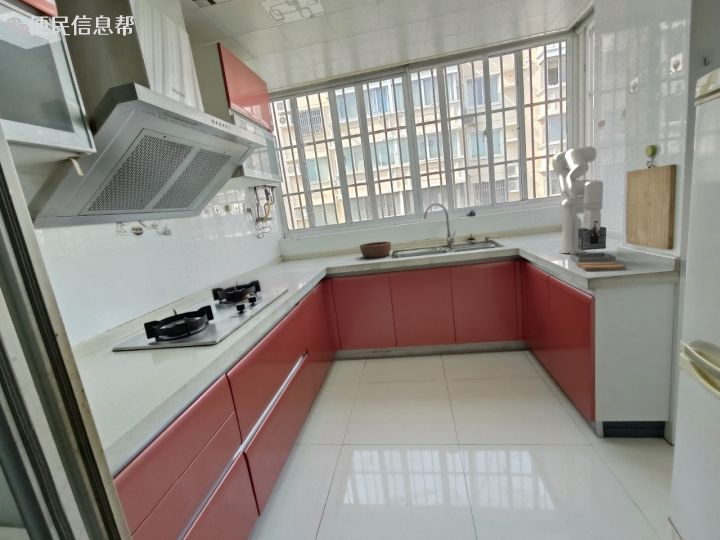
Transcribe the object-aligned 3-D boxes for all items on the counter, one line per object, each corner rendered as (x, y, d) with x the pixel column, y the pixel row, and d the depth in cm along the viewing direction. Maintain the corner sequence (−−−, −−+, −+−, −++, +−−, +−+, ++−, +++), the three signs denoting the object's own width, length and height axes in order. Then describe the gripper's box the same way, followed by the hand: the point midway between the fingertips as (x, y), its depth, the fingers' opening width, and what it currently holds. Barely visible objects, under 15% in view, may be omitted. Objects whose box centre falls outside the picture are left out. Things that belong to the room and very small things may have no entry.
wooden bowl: (367, 254, 281) (365, 242, 279) (395, 252, 272) (394, 240, 270) (356, 259, 258) (355, 247, 256) (386, 258, 249) (385, 244, 247)
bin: (570, 259, 175) (570, 254, 174) (604, 258, 170) (604, 252, 170) (578, 264, 163) (578, 258, 163) (615, 262, 158) (615, 256, 158)
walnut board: (576, 265, 161) (576, 262, 161) (612, 263, 157) (612, 260, 156) (586, 271, 149) (586, 268, 149) (625, 269, 144) (625, 266, 144)
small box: (600, 246, 168) (601, 226, 166) (606, 248, 162) (607, 227, 160) (577, 247, 171) (577, 227, 169) (581, 250, 165) (582, 229, 163)
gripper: (578, 206, 171) (577, 240, 175) (590, 208, 155) (589, 246, 159) (594, 204, 169) (593, 239, 173) (609, 207, 153) (607, 244, 157)
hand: (591, 242), depth 166 cm, fingers closed on small box, 6 cm apart
